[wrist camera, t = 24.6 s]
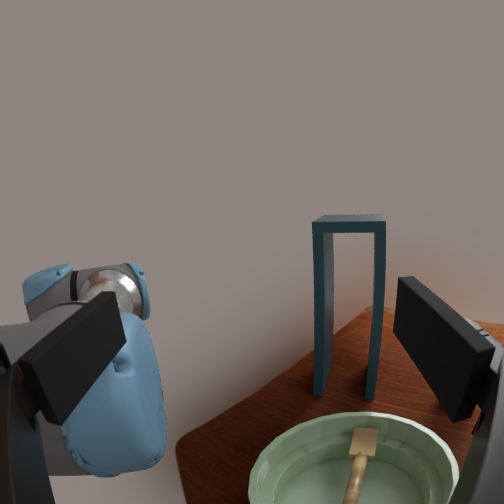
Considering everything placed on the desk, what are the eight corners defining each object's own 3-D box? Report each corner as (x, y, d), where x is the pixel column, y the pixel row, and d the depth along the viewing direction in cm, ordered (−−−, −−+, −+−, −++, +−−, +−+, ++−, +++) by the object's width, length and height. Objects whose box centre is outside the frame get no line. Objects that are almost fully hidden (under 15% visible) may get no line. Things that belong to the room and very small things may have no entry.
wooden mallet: (347, 560, 16) (348, 557, 16) (316, 556, 18) (316, 553, 17) (377, 434, 31) (379, 427, 30) (353, 433, 32) (354, 426, 31)
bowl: (221, 563, 18) (209, 538, 17) (286, 441, 37) (285, 404, 36) (433, 583, 10) (464, 558, 9) (434, 449, 29) (448, 410, 28)
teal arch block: (313, 395, 47) (311, 222, 42) (324, 362, 57) (323, 215, 52) (373, 399, 43) (385, 221, 38) (375, 365, 53) (382, 214, 48)
